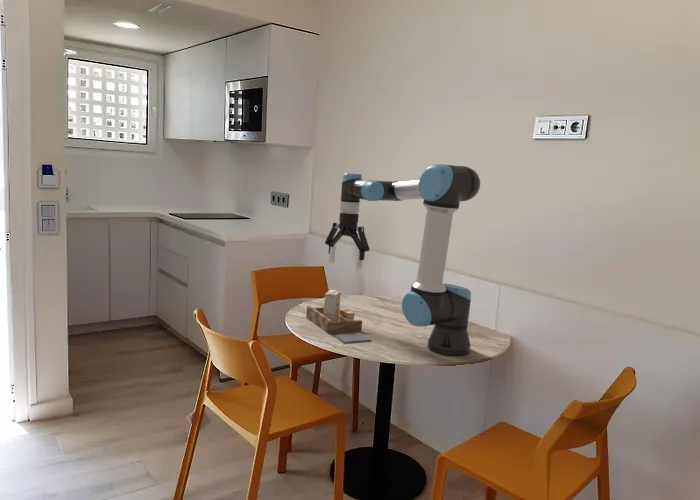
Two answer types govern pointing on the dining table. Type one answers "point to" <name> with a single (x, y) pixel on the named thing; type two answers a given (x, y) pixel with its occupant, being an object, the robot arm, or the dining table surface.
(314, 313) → the wooden tray
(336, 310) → the supplement box
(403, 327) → the dining table surface
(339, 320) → the offcut lower
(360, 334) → the mat
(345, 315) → the offcut upper
